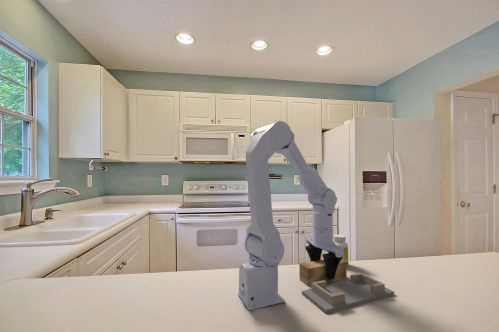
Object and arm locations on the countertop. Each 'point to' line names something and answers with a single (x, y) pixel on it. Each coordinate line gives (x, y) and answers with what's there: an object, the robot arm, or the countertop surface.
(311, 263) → the oak slat
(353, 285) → the cap board
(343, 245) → the supplement bottle
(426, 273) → the countertop surface
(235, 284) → the countertop surface
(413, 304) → the countertop surface
